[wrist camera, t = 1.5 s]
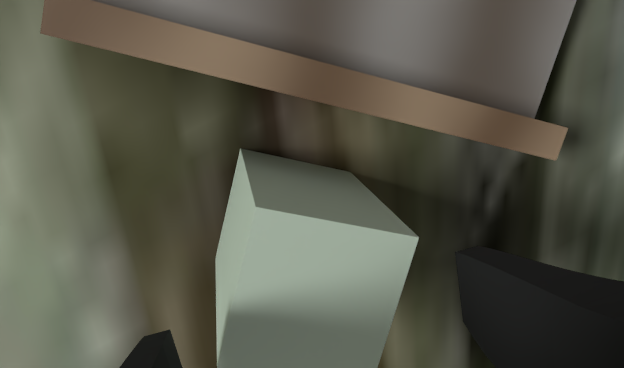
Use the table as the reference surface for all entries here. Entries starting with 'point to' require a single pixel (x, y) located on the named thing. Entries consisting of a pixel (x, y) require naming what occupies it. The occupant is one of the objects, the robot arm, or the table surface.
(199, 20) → the cleat board
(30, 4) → the table surface
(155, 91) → the table surface
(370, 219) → the green block
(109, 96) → the table surface
